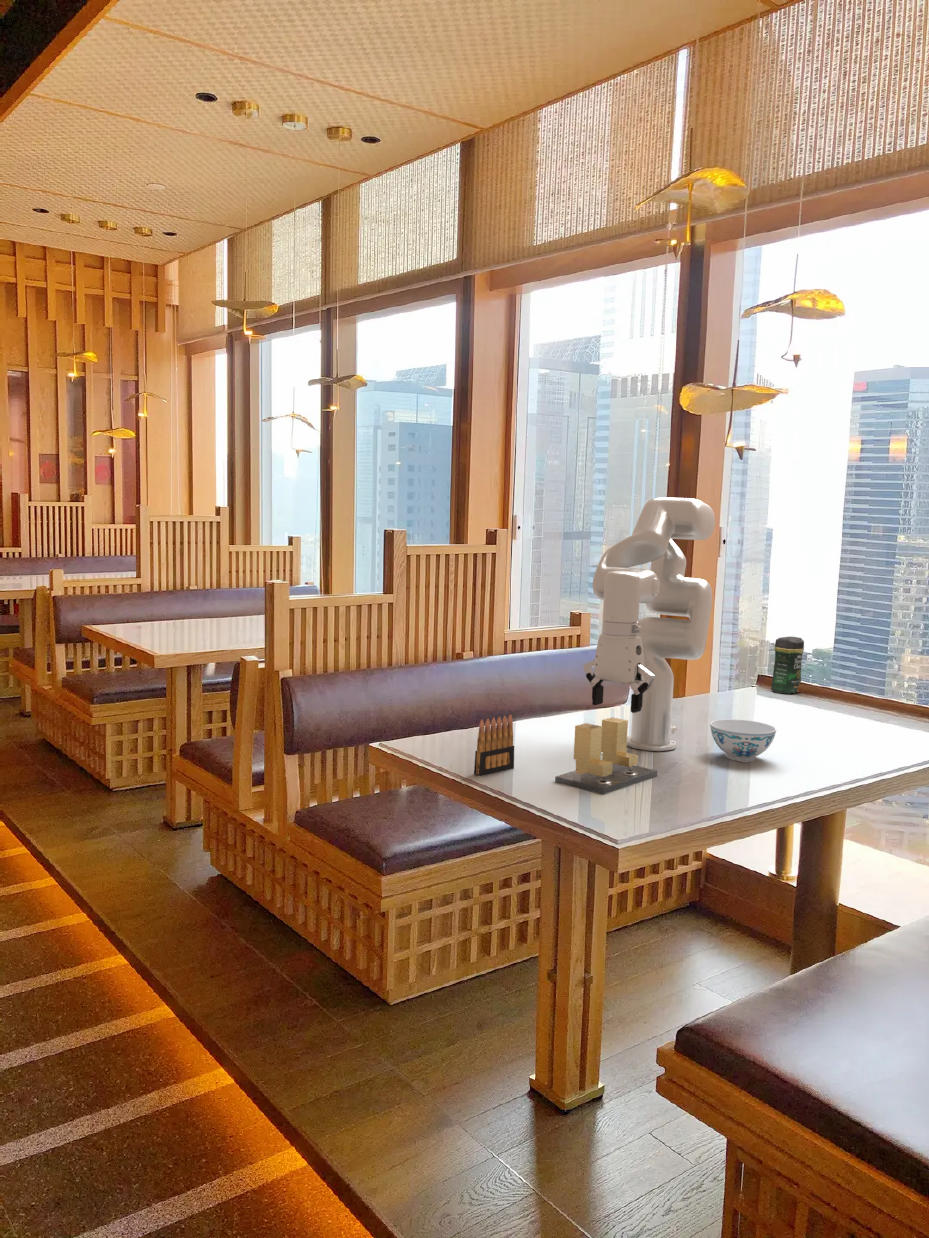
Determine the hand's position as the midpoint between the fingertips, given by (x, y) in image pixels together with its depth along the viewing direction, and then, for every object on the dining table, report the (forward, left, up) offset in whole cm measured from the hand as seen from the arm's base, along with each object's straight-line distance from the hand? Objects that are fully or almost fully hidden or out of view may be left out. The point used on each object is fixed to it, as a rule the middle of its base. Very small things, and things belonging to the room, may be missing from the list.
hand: (616, 707), depth 212 cm
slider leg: (+1, +2, -13) cm, 13 cm away
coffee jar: (-134, -19, -15) cm, 136 cm away
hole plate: (+4, +1, -15) cm, 15 cm away
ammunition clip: (+18, -19, -15) cm, 30 cm away
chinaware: (-36, +12, -15) cm, 41 cm away
